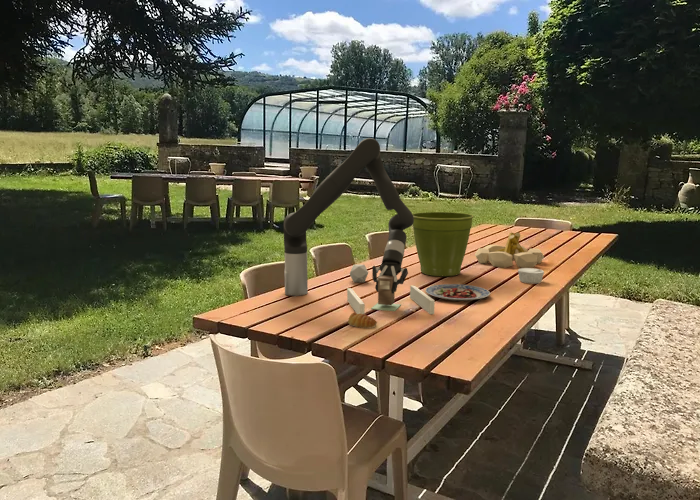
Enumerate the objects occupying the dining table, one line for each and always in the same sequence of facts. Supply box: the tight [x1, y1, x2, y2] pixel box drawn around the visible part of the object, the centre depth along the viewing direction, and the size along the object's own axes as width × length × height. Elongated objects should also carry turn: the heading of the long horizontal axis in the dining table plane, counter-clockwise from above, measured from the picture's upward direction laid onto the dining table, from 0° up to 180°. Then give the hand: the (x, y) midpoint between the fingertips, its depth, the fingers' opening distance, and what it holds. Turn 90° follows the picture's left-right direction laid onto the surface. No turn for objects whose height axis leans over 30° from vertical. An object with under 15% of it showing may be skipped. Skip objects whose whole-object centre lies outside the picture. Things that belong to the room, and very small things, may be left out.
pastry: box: [347, 312, 377, 329], centre depth 181 cm, size 9×7×4 cm
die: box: [349, 264, 369, 283], centre depth 247 cm, size 8×9×10 cm
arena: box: [346, 285, 436, 315], centre depth 204 cm, size 27×24×5 cm
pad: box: [371, 302, 402, 312], centre depth 204 cm, size 9×9×1 cm
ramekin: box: [517, 267, 545, 285], centre depth 248 cm, size 11×11×5 cm
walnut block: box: [377, 275, 396, 305], centre depth 203 cm, size 5×5×10 cm
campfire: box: [474, 232, 545, 269], centre depth 294 cm, size 35×34×17 cm
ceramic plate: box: [425, 283, 491, 302], centre depth 221 cm, size 26×26×3 cm
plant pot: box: [412, 211, 474, 277], centre depth 264 cm, size 30×30×29 cm
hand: (385, 291), depth 201 cm, fingers open, 5 cm apart
